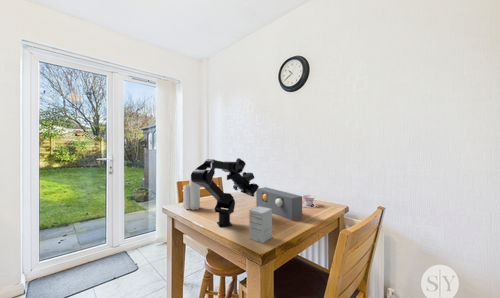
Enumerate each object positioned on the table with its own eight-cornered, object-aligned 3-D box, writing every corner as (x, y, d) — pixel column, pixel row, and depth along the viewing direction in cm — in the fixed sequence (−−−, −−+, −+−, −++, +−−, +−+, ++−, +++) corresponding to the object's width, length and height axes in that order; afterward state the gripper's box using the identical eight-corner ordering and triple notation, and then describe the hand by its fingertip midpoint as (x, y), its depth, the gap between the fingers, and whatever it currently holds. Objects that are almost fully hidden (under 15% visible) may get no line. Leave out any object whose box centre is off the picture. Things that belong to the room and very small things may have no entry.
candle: (201, 207, 140) (201, 176, 140) (197, 210, 133) (196, 178, 133) (185, 206, 142) (185, 176, 142) (180, 209, 135) (179, 177, 135)
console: (291, 220, 114) (291, 198, 114) (256, 206, 140) (256, 188, 140) (302, 217, 119) (302, 196, 119) (265, 204, 145) (265, 187, 145)
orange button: (267, 201, 131) (267, 194, 131) (262, 200, 135) (262, 193, 135) (269, 201, 132) (269, 194, 132) (264, 199, 136) (264, 192, 136)
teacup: (302, 202, 151) (302, 193, 151) (320, 204, 145) (320, 195, 145) (297, 206, 141) (297, 197, 141) (316, 209, 135) (316, 199, 135)
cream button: (280, 207, 119) (280, 199, 119) (275, 205, 122) (275, 197, 122) (283, 206, 120) (283, 199, 120) (277, 205, 123) (277, 197, 123)
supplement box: (259, 233, 98) (259, 205, 98) (272, 237, 93) (272, 208, 93) (248, 238, 92) (248, 209, 92) (262, 243, 87) (262, 212, 87)
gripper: (256, 169, 116) (271, 187, 122) (237, 167, 131) (251, 183, 137) (243, 185, 111) (260, 203, 117) (226, 181, 126) (241, 197, 133)
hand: (253, 196), depth 126 cm, fingers closed
